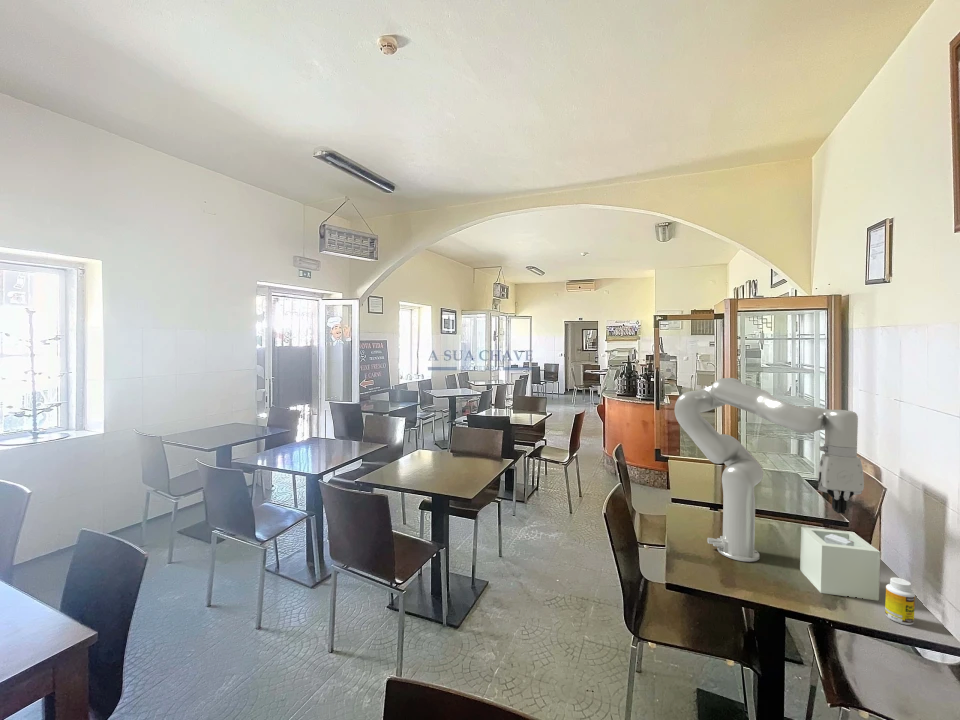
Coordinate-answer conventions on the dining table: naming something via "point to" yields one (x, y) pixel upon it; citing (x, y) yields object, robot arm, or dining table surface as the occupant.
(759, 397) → the robot arm
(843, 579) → the holder
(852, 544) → the skincare box
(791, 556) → the dining table surface
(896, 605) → the supplement bottle
